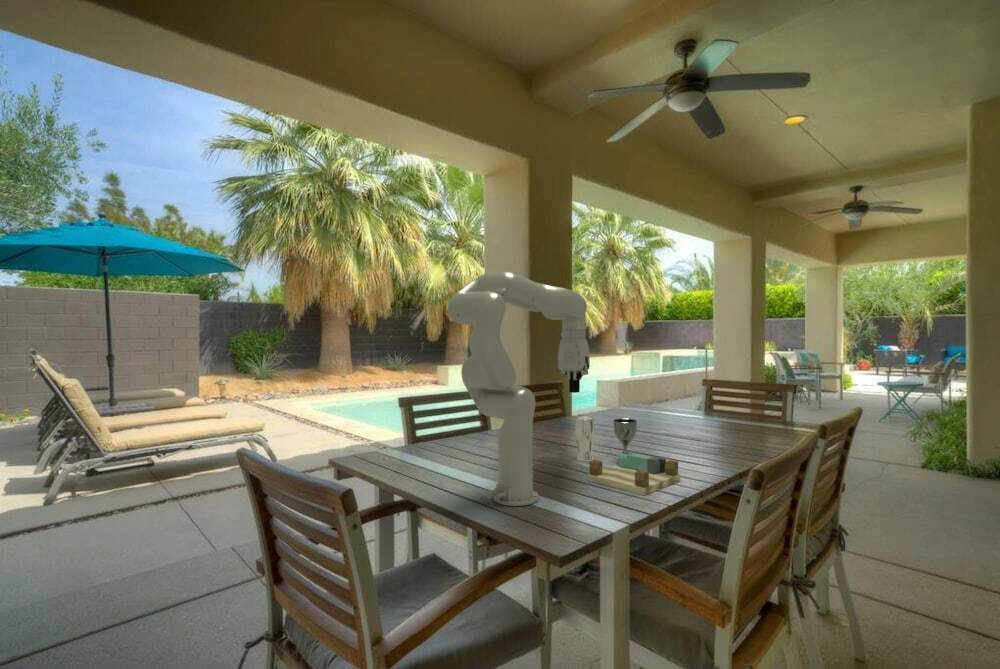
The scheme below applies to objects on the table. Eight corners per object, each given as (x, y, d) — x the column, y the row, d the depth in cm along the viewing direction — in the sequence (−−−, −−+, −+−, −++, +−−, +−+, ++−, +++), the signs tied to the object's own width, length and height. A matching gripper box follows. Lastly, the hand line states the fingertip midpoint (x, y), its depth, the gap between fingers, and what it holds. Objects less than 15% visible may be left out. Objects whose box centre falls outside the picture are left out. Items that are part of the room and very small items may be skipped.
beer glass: (593, 462, 180) (593, 420, 180) (574, 461, 183) (573, 419, 183) (596, 457, 187) (596, 416, 187) (577, 456, 189) (577, 416, 189)
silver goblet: (641, 462, 179) (640, 420, 179) (630, 467, 173) (630, 423, 173) (620, 459, 185) (620, 417, 185) (609, 463, 179) (609, 420, 179)
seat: (644, 495, 144) (643, 474, 144) (587, 480, 159) (587, 461, 159) (680, 481, 157) (680, 461, 157) (625, 468, 172) (625, 450, 172)
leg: (661, 471, 160) (660, 456, 160) (653, 473, 157) (653, 459, 157) (624, 463, 170) (623, 449, 170) (616, 465, 167) (616, 451, 167)
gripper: (549, 335, 168) (549, 391, 168) (584, 335, 157) (585, 395, 157) (564, 335, 173) (564, 389, 173) (599, 335, 162) (600, 393, 162)
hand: (574, 392), depth 165 cm, fingers closed
